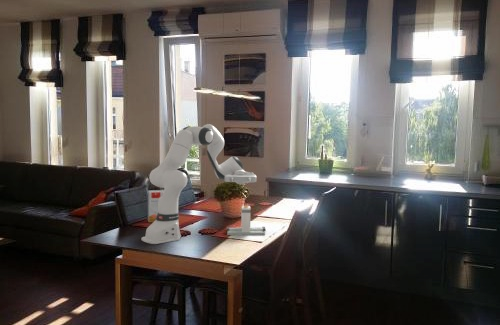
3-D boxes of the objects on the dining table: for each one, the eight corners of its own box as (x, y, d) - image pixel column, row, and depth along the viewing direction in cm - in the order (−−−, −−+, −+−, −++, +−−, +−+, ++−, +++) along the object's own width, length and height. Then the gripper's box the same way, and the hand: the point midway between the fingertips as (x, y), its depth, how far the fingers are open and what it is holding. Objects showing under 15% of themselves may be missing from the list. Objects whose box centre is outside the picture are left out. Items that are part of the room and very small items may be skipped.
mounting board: (227, 234, 252) (227, 232, 252) (227, 230, 262) (227, 228, 262) (265, 234, 253) (265, 232, 253) (263, 230, 263) (263, 228, 263)
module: (241, 228, 261) (241, 204, 259) (249, 228, 261) (250, 204, 260) (241, 231, 254) (242, 206, 252) (250, 231, 254) (250, 207, 253)
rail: (226, 231, 254) (226, 228, 254) (226, 229, 259) (226, 226, 259) (265, 231, 256) (265, 228, 256) (264, 229, 261) (264, 226, 261)
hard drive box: (148, 222, 278) (147, 192, 276) (147, 220, 286) (147, 190, 284) (172, 221, 283) (172, 191, 280) (171, 218, 290) (171, 189, 288)
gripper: (224, 172, 279) (224, 175, 265) (255, 172, 280) (257, 175, 267) (224, 181, 280) (224, 185, 266) (255, 182, 281) (257, 185, 267)
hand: (241, 180), depth 266 cm, fingers open, 8 cm apart
